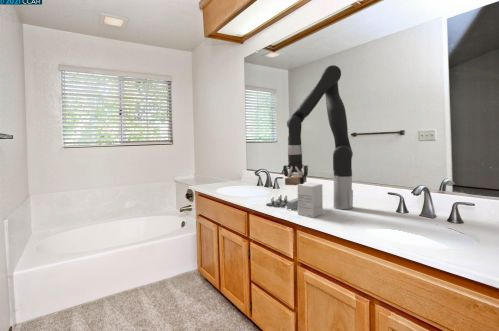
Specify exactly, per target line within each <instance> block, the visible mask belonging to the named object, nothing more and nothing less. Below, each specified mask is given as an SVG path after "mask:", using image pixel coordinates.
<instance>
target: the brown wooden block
mask: <svg viewBox="0 0 499 331" xmlns="http://www.w3.org/2000/svg"><path fill="white" fill-rule="evenodd" d="M300 178H301V177H300V175H292V176H291V177H285V178H284V185H285V186H298V185H300V184H301V182H300ZM305 183H307V176H306V177H304V184H305Z"/></svg>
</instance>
